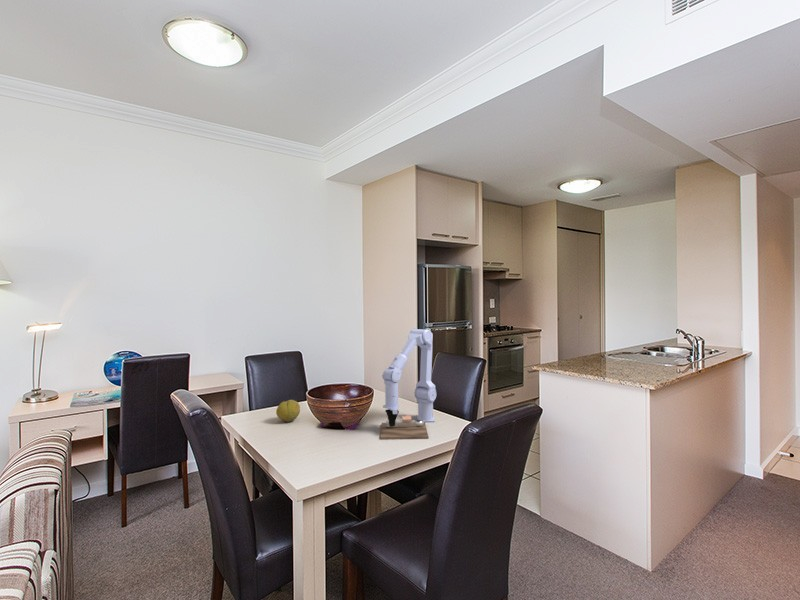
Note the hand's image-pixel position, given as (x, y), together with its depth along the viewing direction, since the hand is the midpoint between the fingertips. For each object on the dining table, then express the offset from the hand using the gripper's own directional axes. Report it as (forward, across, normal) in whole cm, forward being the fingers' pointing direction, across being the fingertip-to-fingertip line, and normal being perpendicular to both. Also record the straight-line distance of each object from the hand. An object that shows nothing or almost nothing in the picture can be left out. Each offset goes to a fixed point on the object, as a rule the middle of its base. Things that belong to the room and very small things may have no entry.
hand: (392, 426), depth 183 cm
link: (+1, -1, +6) cm, 6 cm away
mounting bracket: (+2, -12, -22) cm, 25 cm away
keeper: (+1, -2, +9) cm, 10 cm away
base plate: (+2, +2, +5) cm, 6 cm away
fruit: (+2, -26, -46) cm, 53 cm away
